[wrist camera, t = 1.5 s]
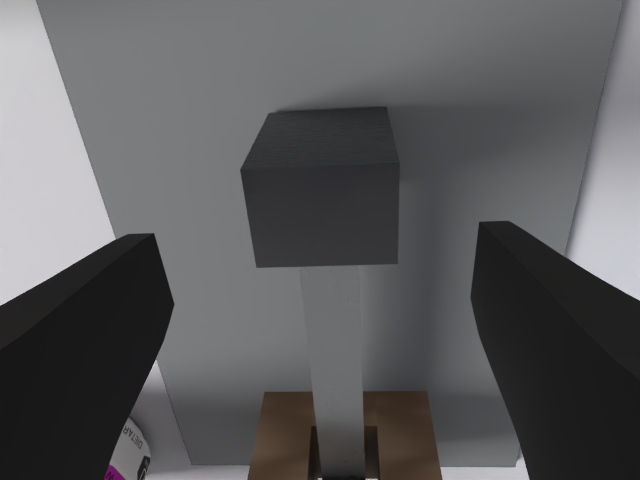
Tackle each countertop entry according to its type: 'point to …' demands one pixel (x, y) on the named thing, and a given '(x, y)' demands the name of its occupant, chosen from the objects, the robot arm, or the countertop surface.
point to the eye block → (379, 437)
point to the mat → (414, 187)
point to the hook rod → (327, 247)
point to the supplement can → (129, 455)
